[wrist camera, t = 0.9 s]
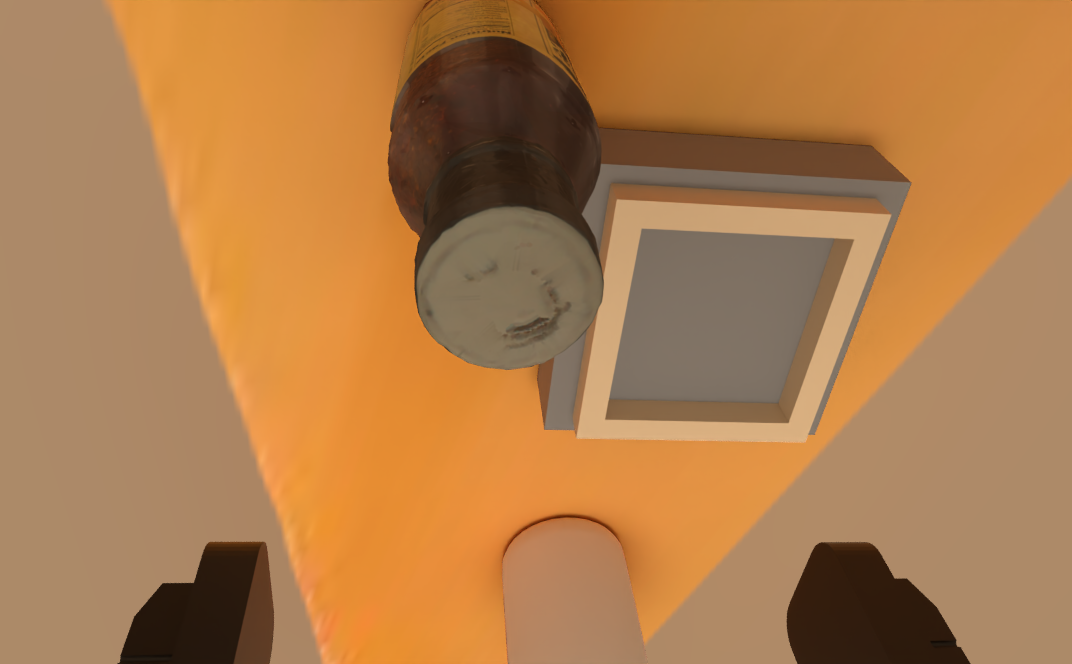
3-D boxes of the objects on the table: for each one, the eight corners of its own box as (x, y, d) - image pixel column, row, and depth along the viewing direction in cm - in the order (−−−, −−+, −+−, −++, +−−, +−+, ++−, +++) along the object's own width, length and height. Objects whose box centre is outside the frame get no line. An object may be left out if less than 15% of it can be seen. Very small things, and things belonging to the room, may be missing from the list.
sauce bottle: (547, 131, 36) (627, 438, 20) (402, 119, 35) (361, 429, 19) (568, -29, 32) (688, 186, 16) (407, -46, 31) (361, 161, 15)
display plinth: (871, 145, 38) (928, 198, 33) (788, 386, 45) (825, 454, 41) (569, 125, 36) (586, 178, 31) (537, 379, 44) (547, 450, 39)
